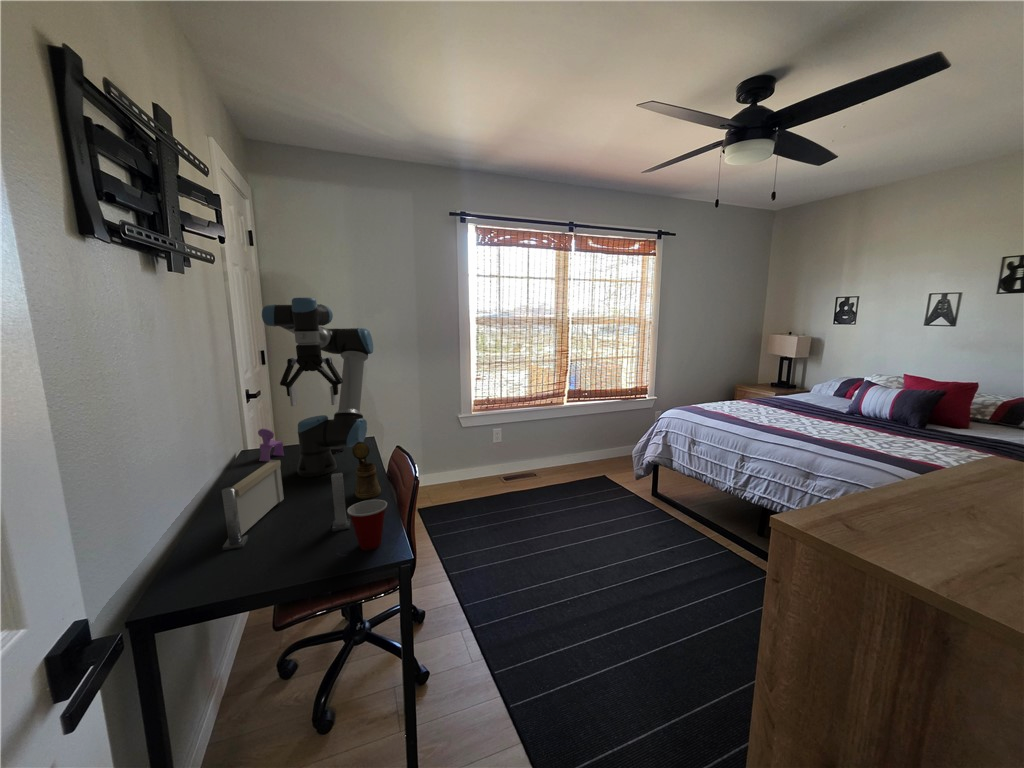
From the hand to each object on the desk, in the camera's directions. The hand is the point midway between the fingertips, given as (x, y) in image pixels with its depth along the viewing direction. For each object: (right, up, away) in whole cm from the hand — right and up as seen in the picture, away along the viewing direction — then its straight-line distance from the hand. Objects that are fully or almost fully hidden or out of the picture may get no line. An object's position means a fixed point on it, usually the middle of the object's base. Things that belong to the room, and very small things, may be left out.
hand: (314, 404), depth 140 cm
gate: (-12, -36, -10) cm, 39 cm away
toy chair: (-44, -28, +48) cm, 71 cm away
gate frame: (+2, -38, -19) cm, 43 cm away
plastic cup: (+28, -39, -24) cm, 54 cm away
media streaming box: (-22, -26, +59) cm, 68 cm away
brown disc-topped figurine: (+15, -33, +11) cm, 38 cm away
